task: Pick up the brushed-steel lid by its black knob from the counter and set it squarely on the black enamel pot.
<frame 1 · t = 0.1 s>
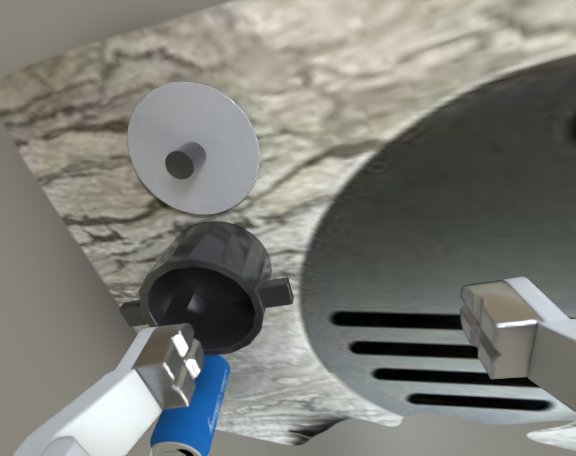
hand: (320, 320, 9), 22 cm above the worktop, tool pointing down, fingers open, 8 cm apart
beverage can: (208, 360, 43), on the worktop
pot lid: (195, 153, 29), point 1 cm above the worktop
pot: (221, 266, 35), on the worktop
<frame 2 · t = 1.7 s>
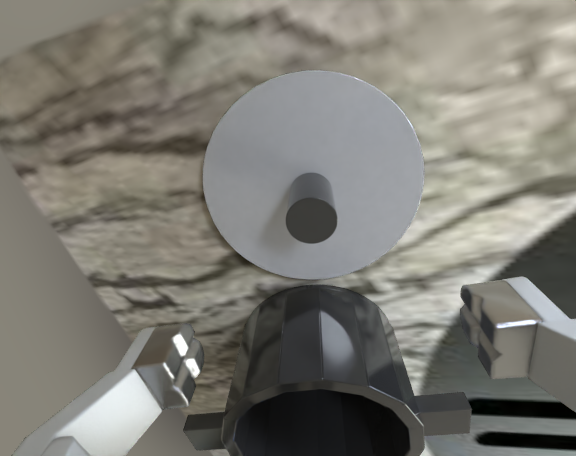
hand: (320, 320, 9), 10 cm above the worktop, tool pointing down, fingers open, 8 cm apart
pot lid: (310, 189, 18), point 1 cm above the worktop
pot: (317, 342, 24), on the worktop
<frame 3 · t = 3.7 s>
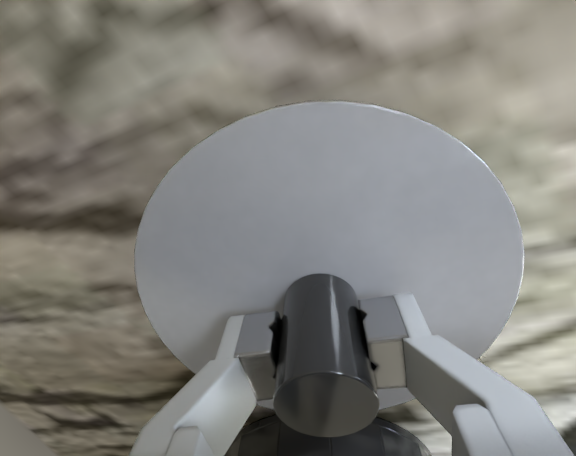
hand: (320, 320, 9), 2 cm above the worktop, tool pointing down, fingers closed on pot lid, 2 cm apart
pot lid: (319, 292, 10), point 1 cm above the worktop, touching gripper
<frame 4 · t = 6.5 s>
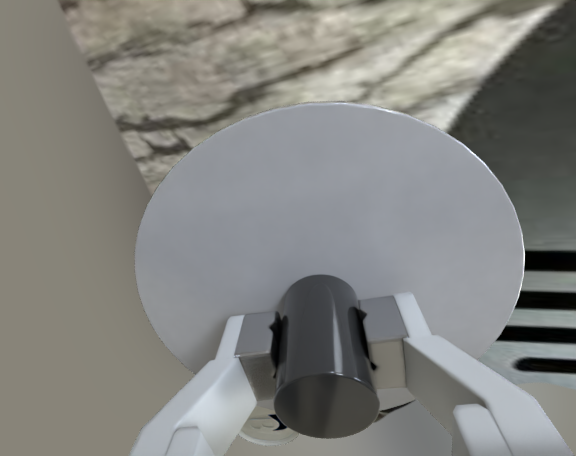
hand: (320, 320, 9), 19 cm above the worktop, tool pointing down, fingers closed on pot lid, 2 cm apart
beverage can: (278, 318, 36), on the worktop
pot lid: (319, 293, 10), point 18 cm above the worktop, touching gripper
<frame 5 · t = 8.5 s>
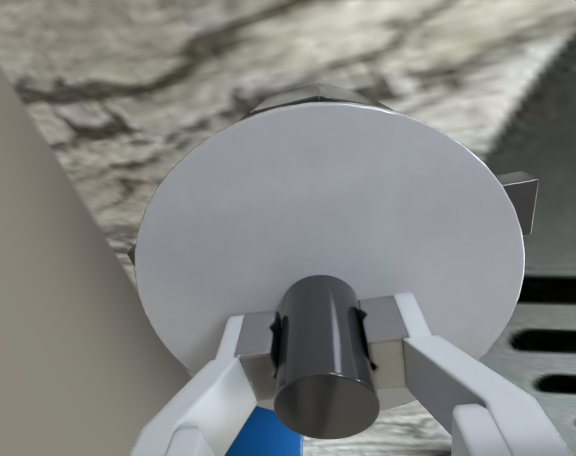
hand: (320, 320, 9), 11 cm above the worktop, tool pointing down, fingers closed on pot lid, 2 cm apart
beverage can: (267, 361, 27), on the worktop
pot lid: (320, 294, 10), point 10 cm above the worktop, touching gripper
pot: (314, 188, 19), on the worktop
when the fingers open (9 cm above the worktop, at t = 9.5 s): pot lid stays where it is, resting on pot.
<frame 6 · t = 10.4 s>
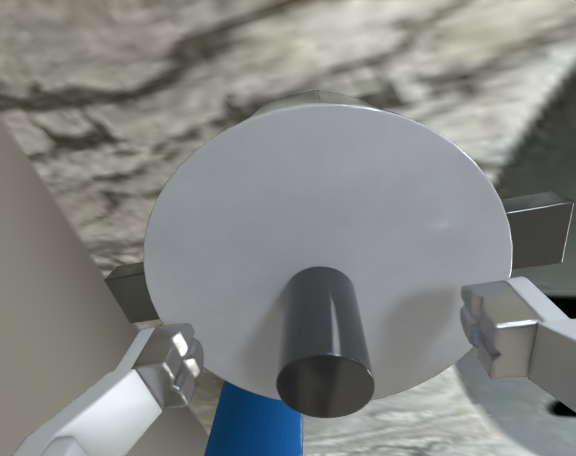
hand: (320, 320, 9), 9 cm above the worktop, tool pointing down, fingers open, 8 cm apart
beverage can: (264, 383, 25), on the worktop
pot lid: (319, 285, 11), point 7 cm above the worktop, touching pot
pot: (314, 202, 18), on the worktop
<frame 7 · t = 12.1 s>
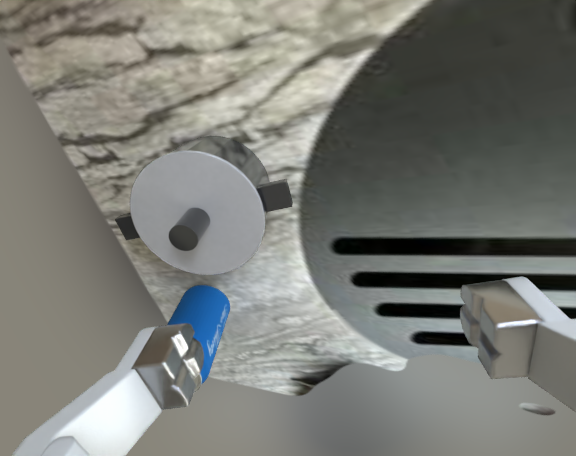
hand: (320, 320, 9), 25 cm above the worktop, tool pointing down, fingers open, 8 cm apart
beverage can: (208, 299, 42), on the worktop
pot lid: (199, 217, 28), point 7 cm above the worktop, touching pot
pot: (219, 188, 35), on the worktop
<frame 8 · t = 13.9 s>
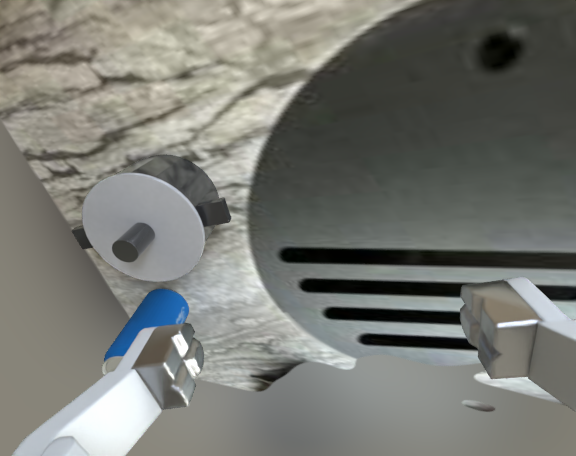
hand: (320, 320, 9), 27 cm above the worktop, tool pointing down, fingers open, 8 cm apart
beverage can: (169, 301, 46), on the worktop
pot lid: (145, 230, 31), point 7 cm above the worktop, touching pot
pot: (173, 201, 38), on the worktop
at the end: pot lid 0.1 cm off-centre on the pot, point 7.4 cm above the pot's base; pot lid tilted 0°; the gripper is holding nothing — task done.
